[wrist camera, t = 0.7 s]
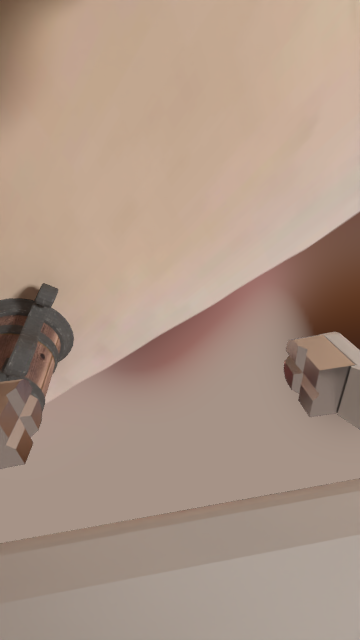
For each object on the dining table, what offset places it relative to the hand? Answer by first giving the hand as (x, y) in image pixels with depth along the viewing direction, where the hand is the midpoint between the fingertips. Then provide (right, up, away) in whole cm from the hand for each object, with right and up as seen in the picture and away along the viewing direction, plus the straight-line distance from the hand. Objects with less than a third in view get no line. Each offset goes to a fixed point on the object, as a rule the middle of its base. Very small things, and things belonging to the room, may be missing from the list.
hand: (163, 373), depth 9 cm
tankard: (-27, +1, +42) cm, 49 cm away
